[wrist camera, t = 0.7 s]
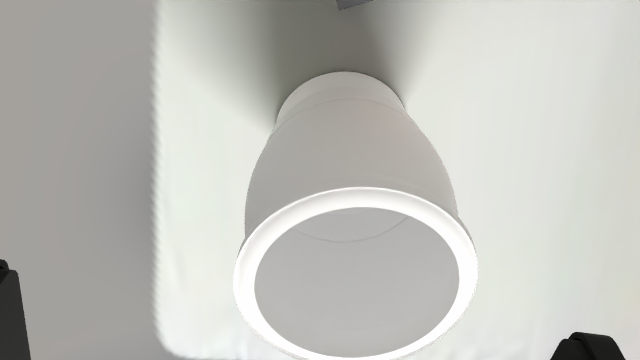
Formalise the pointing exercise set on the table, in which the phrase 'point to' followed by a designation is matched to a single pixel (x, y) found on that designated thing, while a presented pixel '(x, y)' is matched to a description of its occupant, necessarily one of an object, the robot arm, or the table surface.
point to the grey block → (349, 3)
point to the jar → (351, 230)
